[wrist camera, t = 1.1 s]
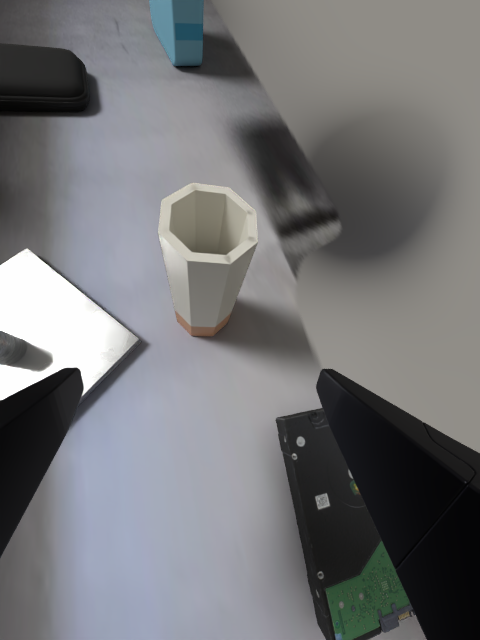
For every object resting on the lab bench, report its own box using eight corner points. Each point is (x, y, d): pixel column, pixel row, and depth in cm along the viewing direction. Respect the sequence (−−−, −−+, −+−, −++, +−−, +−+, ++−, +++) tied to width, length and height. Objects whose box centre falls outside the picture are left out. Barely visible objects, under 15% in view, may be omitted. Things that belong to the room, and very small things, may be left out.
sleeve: (227, 336, 24) (259, 266, 12) (176, 335, 23) (154, 258, 11) (227, 292, 26) (254, 190, 14) (179, 289, 25) (164, 178, 13)
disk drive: (270, 418, 23) (316, 626, 18) (280, 419, 20) (336, 663, 15) (363, 397, 25) (425, 577, 20) (382, 395, 22) (458, 601, 18)
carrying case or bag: (88, 69, 34) (-37, 61, 31) (79, 38, 32) (-61, 26, 28) (95, 118, 31) (-44, 116, 28) (85, 90, 29) (-71, 83, 25)
